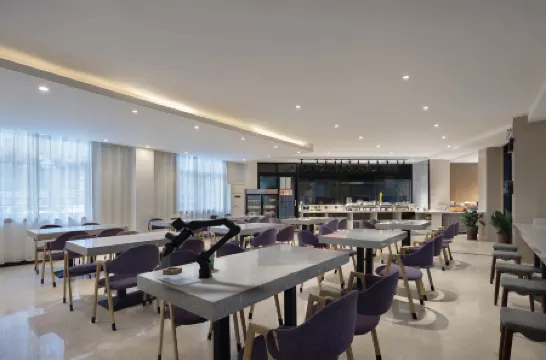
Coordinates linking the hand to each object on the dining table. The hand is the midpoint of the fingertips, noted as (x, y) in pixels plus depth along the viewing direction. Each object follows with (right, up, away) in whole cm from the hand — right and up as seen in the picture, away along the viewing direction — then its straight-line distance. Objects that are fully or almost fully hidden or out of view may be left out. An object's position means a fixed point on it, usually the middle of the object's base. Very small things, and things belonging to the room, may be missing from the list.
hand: (163, 255), depth 186 cm
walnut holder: (+2, -13, +11) cm, 17 cm away
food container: (+23, -14, +22) cm, 35 cm away
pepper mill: (+1, -7, 0) cm, 7 cm away
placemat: (+11, -12, -8) cm, 18 cm away
